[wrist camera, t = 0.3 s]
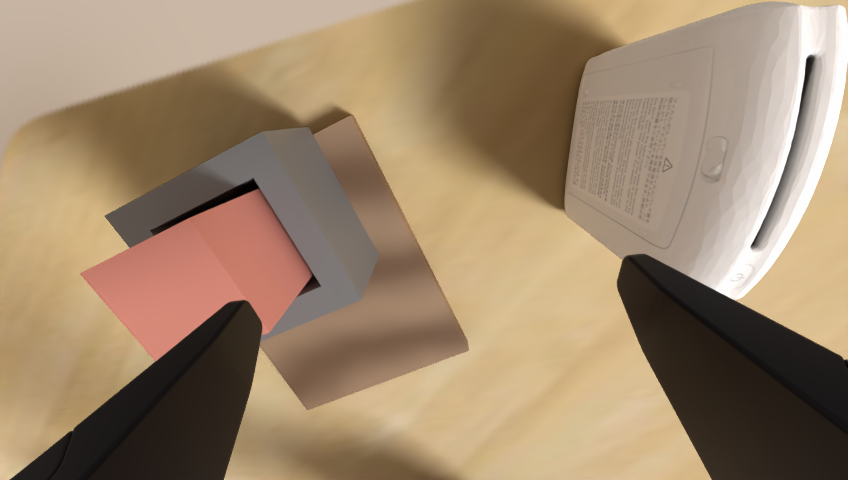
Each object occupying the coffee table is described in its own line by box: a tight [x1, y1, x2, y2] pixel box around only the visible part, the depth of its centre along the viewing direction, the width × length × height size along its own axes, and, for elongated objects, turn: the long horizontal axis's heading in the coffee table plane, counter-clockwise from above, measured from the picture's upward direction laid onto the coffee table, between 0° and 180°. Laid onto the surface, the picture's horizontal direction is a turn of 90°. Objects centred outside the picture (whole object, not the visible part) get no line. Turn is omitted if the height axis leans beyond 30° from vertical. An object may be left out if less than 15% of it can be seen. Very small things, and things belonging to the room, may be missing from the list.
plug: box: [80, 188, 313, 361], centre depth 16 cm, size 5×5×6 cm
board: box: [221, 116, 469, 410], centre depth 25 cm, size 18×14×1 cm
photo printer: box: [565, 2, 848, 299], centre depth 16 cm, size 10×4×12 cm, turn 0°
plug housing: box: [105, 127, 379, 342], centre depth 20 cm, size 9×9×6 cm
